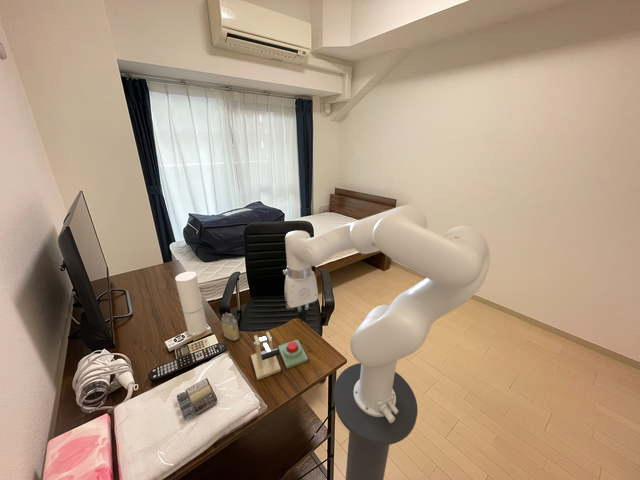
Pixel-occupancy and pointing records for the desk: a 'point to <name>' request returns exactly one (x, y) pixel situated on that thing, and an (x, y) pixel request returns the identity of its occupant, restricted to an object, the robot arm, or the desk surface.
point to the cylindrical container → (191, 302)
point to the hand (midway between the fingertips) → (302, 318)
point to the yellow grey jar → (230, 327)
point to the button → (292, 347)
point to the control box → (292, 355)
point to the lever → (267, 349)
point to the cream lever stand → (267, 365)
